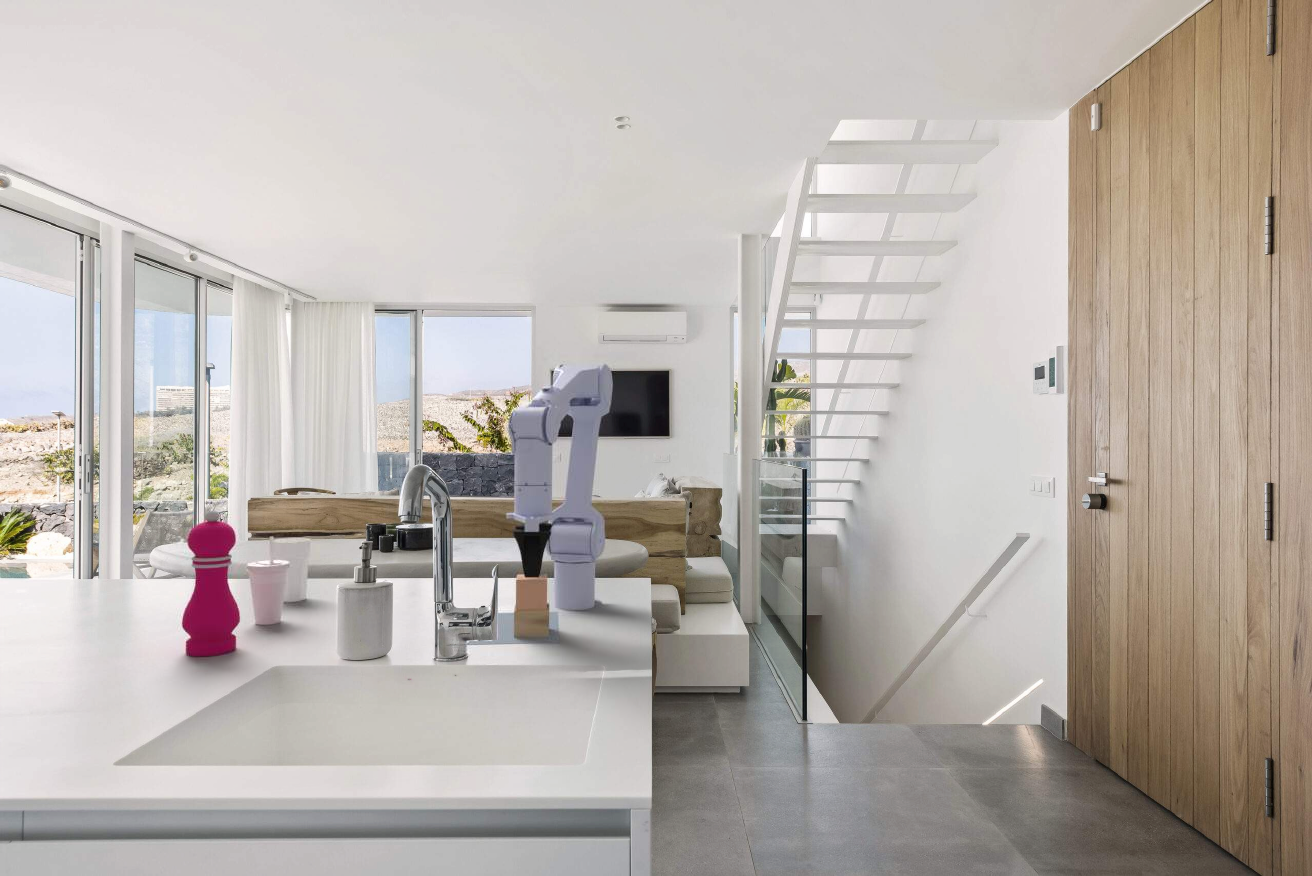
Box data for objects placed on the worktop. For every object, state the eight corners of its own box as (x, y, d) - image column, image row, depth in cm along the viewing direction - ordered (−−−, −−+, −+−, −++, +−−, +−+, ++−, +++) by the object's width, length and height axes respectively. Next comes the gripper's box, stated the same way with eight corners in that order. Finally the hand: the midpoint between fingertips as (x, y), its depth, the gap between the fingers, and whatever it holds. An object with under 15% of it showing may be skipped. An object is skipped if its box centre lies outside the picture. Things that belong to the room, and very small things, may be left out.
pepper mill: (174, 659, 110) (175, 513, 109) (190, 645, 116) (191, 508, 116) (233, 656, 111) (234, 512, 111) (244, 642, 118) (245, 507, 118)
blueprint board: (461, 618, 135) (461, 613, 135) (557, 616, 137) (557, 611, 137) (446, 650, 115) (446, 645, 115) (558, 647, 117) (558, 642, 117)
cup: (273, 596, 151) (274, 538, 151) (311, 595, 153) (312, 537, 153) (268, 604, 145) (268, 543, 144) (307, 602, 146) (308, 542, 146)
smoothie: (272, 627, 127) (272, 539, 127) (236, 625, 129) (237, 538, 128) (297, 618, 134) (298, 534, 133) (264, 616, 135) (264, 533, 135)
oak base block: (515, 629, 125) (515, 603, 125) (549, 628, 126) (549, 602, 126) (513, 637, 120) (514, 610, 120) (549, 636, 120) (549, 610, 120)
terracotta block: (517, 603, 125) (517, 574, 125) (546, 603, 125) (547, 573, 125) (515, 610, 120) (516, 579, 120) (546, 609, 121) (547, 579, 121)
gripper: (509, 481, 129) (508, 565, 129) (503, 488, 115) (503, 582, 115) (553, 481, 130) (552, 565, 130) (553, 488, 116) (552, 582, 116)
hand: (532, 573), depth 123 cm, fingers open, 5 cm apart
